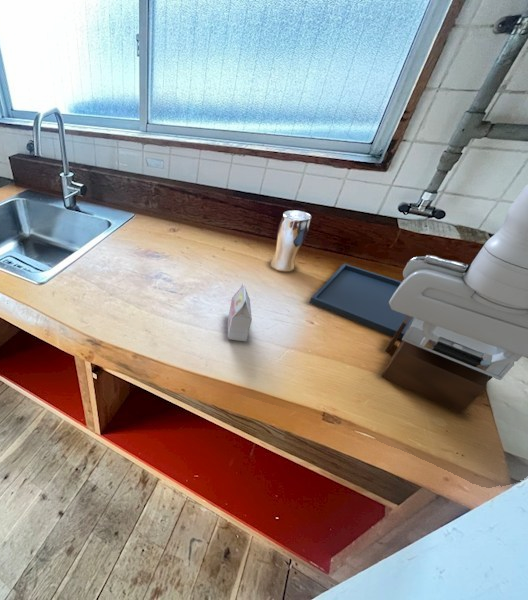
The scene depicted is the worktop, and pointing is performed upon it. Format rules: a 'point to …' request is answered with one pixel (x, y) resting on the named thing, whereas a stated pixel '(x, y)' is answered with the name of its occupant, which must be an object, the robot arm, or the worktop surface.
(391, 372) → the stand
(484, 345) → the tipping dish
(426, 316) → the robot arm
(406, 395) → the worktop surface
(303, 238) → the silver metal vase
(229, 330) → the grey boxy piece
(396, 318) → the tray
